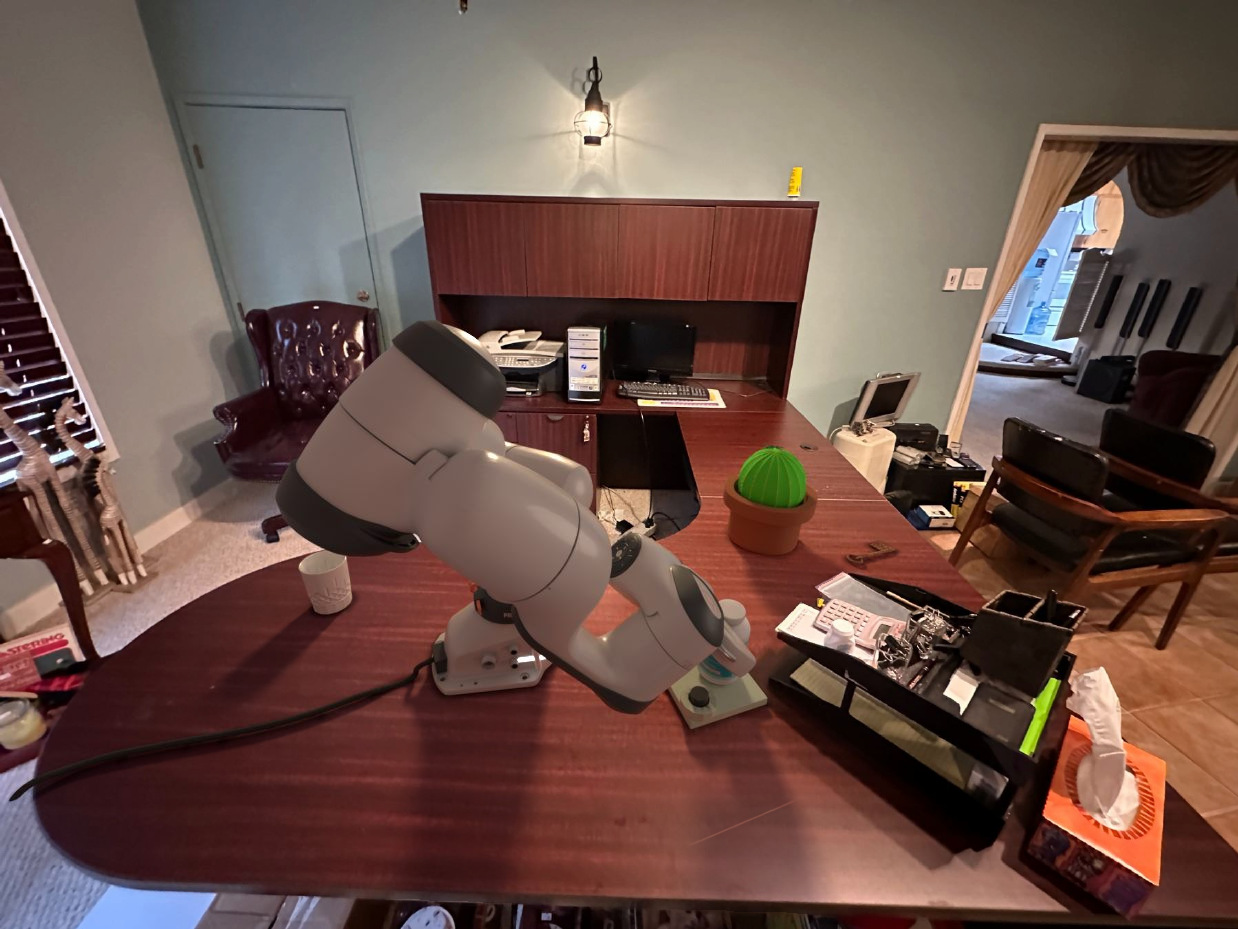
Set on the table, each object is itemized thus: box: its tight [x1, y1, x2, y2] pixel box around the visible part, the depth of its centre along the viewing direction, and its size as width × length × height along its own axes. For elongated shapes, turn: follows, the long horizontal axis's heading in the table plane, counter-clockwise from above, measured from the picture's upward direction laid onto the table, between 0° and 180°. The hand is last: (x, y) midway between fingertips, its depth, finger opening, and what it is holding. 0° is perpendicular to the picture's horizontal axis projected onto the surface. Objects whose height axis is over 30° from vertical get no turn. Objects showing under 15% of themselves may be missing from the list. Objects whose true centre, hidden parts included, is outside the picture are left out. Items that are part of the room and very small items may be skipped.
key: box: [846, 541, 897, 565], centre depth 121 cm, size 6×1×15 cm
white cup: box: [298, 549, 353, 615], centre depth 96 cm, size 8×8×10 cm
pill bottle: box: [697, 598, 752, 685], centre depth 81 cm, size 8×7×14 cm
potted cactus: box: [722, 444, 819, 556], centre depth 121 cm, size 22×22×25 cm
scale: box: [667, 666, 768, 730], centre depth 82 cm, size 14×12×3 cm
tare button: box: [690, 686, 709, 708], centre depth 77 cm, size 3×3×2 cm
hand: (728, 633), depth 81 cm, fingers closed on pill bottle, 7 cm apart
